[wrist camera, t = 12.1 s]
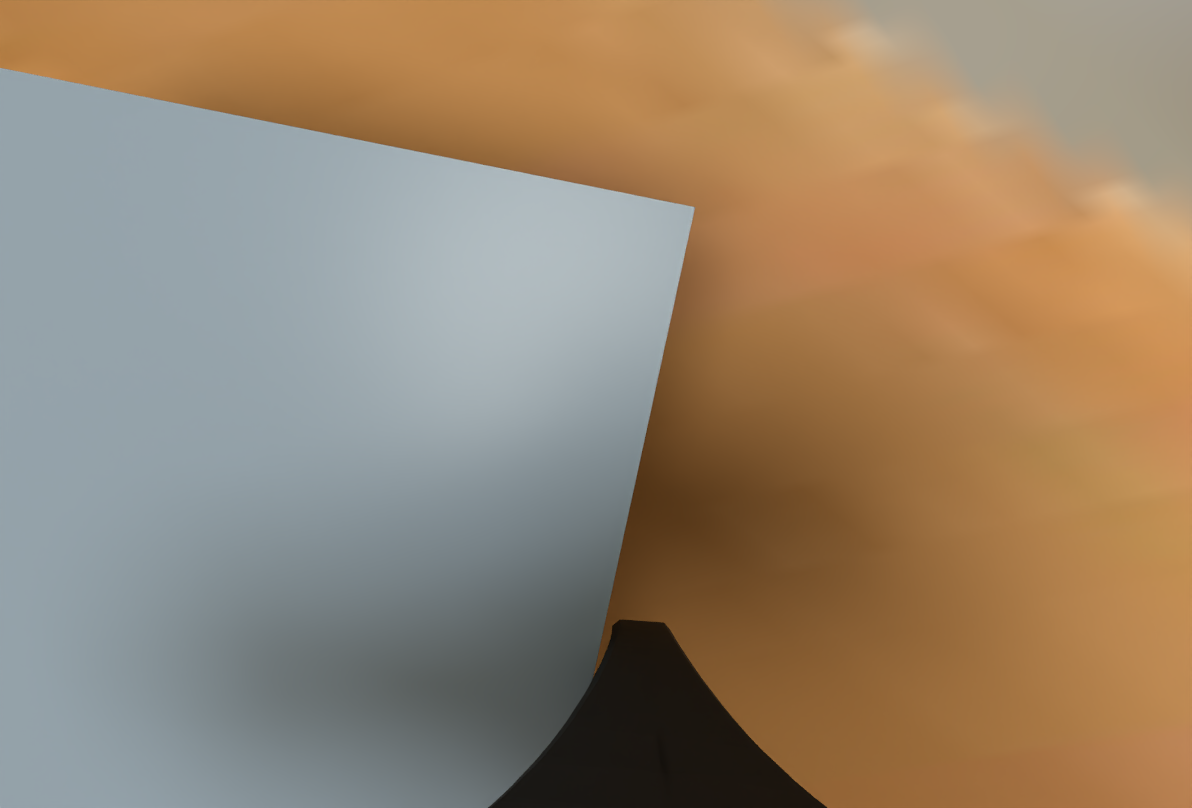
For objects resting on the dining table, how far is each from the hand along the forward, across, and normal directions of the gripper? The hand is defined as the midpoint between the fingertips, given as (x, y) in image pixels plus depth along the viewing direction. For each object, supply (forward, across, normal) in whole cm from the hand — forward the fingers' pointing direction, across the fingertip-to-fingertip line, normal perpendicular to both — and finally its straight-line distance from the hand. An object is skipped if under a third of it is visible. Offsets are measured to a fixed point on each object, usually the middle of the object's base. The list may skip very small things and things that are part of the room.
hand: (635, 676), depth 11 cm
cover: (0, +6, +3) cm, 7 cm away
